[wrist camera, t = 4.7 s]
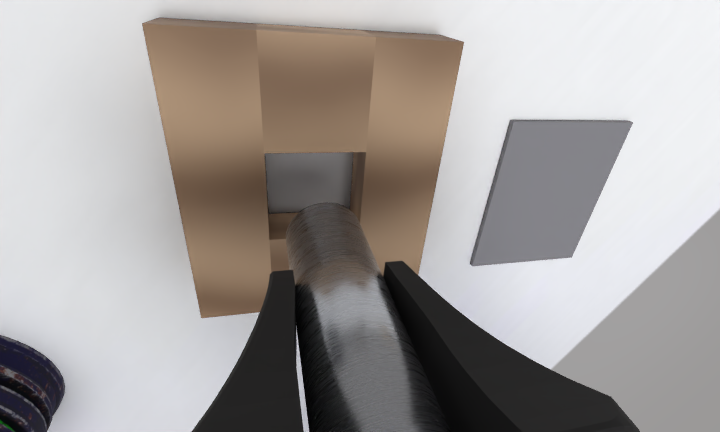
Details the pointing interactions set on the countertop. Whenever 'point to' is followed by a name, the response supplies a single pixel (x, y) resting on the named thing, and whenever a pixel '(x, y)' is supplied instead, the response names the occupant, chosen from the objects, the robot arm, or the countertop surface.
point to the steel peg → (353, 333)
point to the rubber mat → (546, 188)
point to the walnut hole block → (295, 137)
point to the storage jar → (27, 388)
